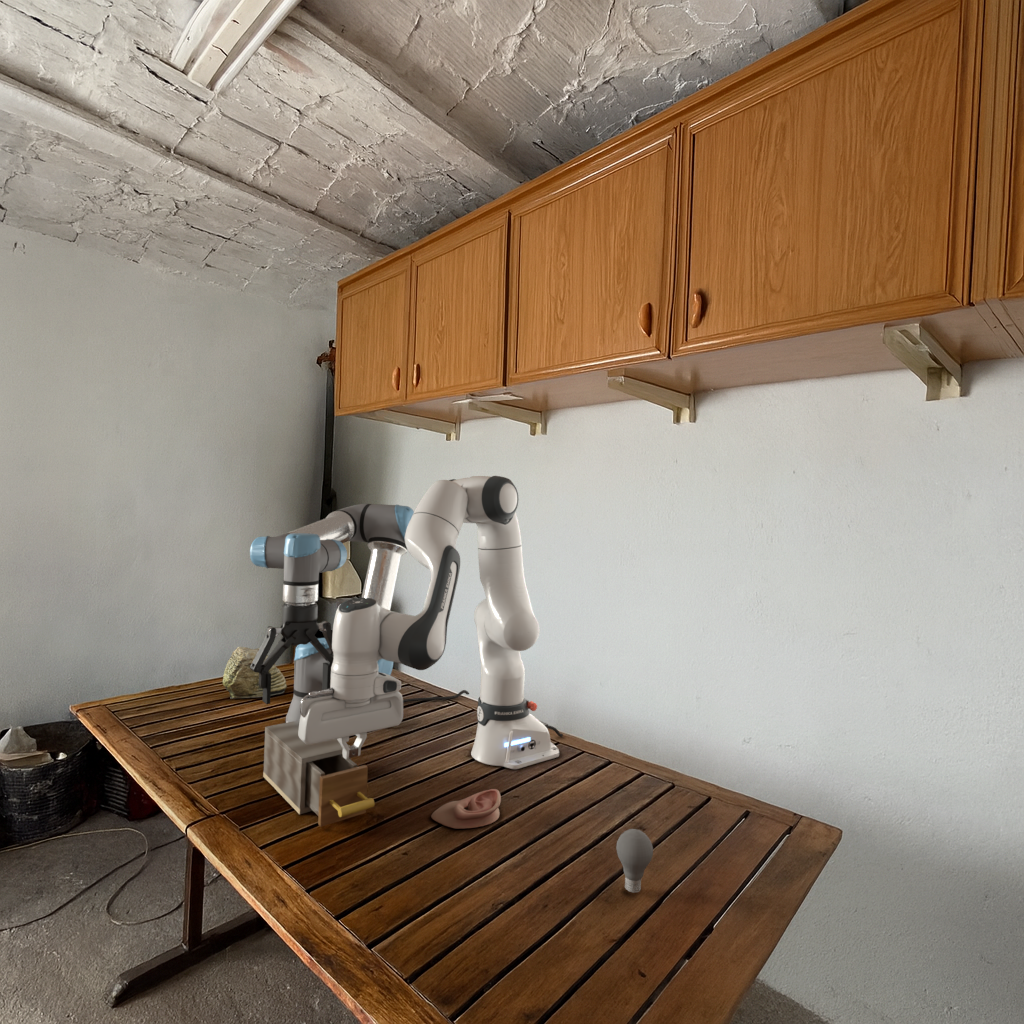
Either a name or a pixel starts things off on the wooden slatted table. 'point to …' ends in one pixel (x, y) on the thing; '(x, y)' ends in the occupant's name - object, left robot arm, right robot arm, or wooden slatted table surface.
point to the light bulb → (634, 857)
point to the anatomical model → (470, 811)
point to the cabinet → (292, 761)
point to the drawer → (336, 789)
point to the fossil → (249, 676)
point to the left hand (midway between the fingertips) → (297, 697)
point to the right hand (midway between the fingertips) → (351, 756)
